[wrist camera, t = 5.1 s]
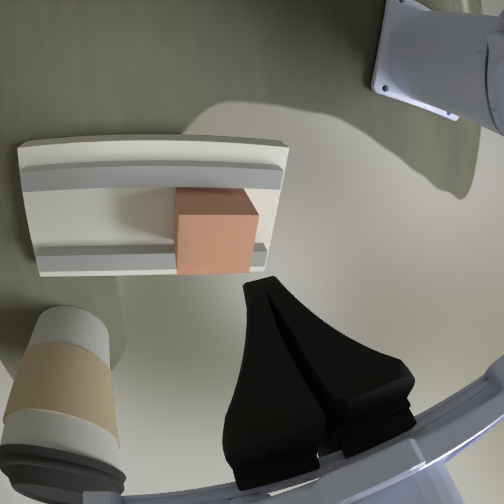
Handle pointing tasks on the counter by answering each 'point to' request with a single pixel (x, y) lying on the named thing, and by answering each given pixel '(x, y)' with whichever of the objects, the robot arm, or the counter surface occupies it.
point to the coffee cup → (63, 412)
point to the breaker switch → (213, 230)
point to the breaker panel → (136, 196)
